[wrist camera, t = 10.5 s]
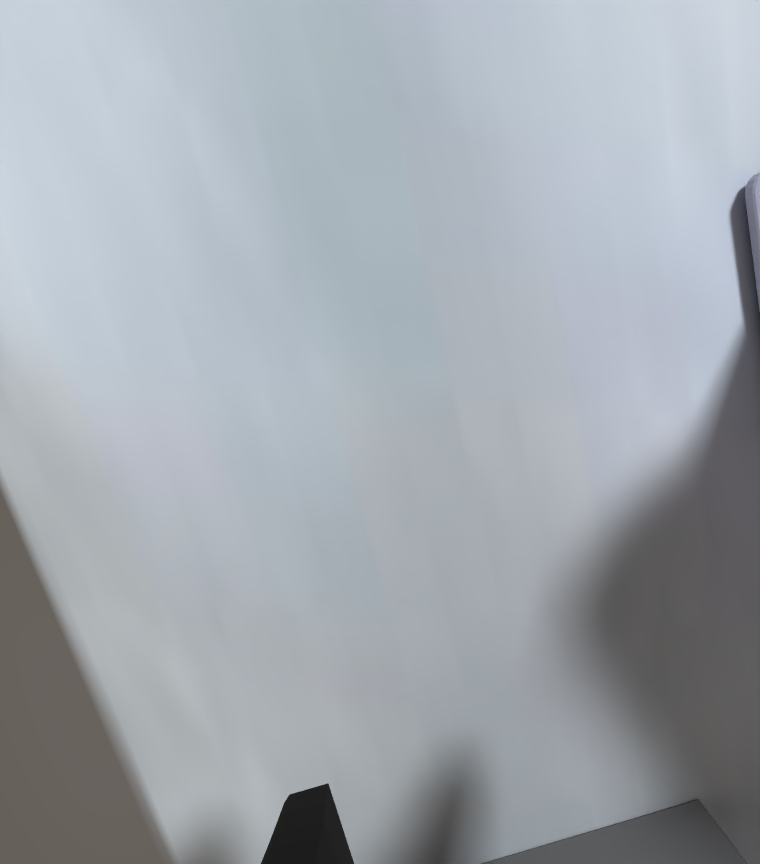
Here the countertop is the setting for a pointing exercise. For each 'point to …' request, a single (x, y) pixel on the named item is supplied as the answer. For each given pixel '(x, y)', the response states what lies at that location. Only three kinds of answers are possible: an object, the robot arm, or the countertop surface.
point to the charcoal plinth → (642, 842)
